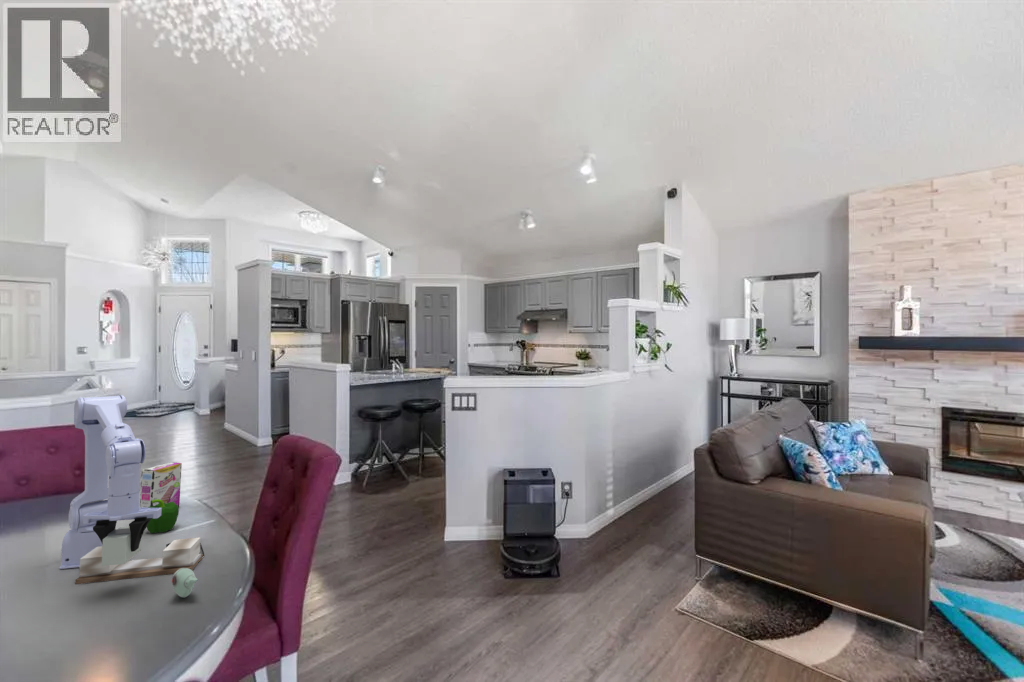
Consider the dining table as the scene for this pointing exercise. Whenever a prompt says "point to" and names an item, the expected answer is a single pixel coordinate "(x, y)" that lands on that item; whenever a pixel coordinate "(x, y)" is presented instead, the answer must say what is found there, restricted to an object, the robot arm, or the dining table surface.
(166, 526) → the bell pepper
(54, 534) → the dining table surface
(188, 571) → the robot head
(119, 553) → the block
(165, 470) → the candy bar box
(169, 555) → the board
